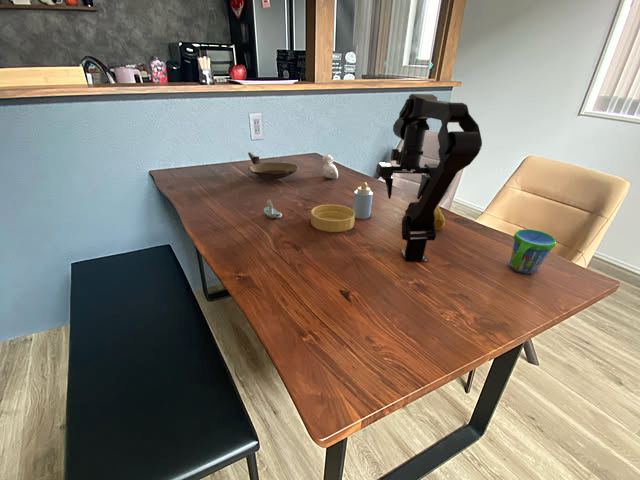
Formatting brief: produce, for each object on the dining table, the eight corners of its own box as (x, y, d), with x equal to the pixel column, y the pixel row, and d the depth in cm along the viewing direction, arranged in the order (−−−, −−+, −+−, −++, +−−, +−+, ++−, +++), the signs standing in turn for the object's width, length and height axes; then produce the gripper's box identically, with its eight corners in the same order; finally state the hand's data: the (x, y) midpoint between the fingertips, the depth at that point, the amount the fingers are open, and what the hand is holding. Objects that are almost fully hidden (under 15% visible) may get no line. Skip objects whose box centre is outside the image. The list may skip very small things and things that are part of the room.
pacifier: (277, 212, 137) (262, 213, 134) (277, 195, 133) (262, 196, 131) (284, 219, 131) (269, 220, 129) (285, 202, 128) (268, 203, 125)
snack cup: (524, 284, 101) (539, 250, 94) (491, 268, 107) (502, 235, 101) (553, 269, 108) (568, 237, 102) (520, 255, 115) (533, 224, 109)
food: (444, 233, 126) (448, 216, 122) (427, 232, 126) (431, 215, 123) (435, 211, 143) (438, 196, 139) (420, 210, 143) (424, 195, 139)
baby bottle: (367, 221, 132) (371, 186, 125) (349, 218, 134) (352, 183, 126) (371, 215, 137) (376, 181, 130) (355, 212, 139) (358, 178, 131)
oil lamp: (258, 187, 158) (257, 169, 153) (241, 169, 179) (239, 152, 174) (305, 183, 165) (306, 165, 161) (283, 165, 187) (283, 149, 182)
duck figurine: (324, 178, 179) (312, 159, 171) (336, 167, 178) (324, 148, 170) (333, 185, 170) (320, 166, 163) (346, 174, 169) (333, 155, 161)
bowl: (356, 233, 123) (357, 221, 120) (311, 233, 122) (312, 220, 119) (351, 216, 135) (352, 204, 132) (310, 216, 134) (310, 204, 131)
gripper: (436, 139, 112) (425, 190, 121) (376, 138, 110) (370, 189, 120) (448, 148, 103) (435, 202, 112) (383, 146, 102) (376, 201, 111)
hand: (403, 198), depth 114 cm, fingers open, 9 cm apart
